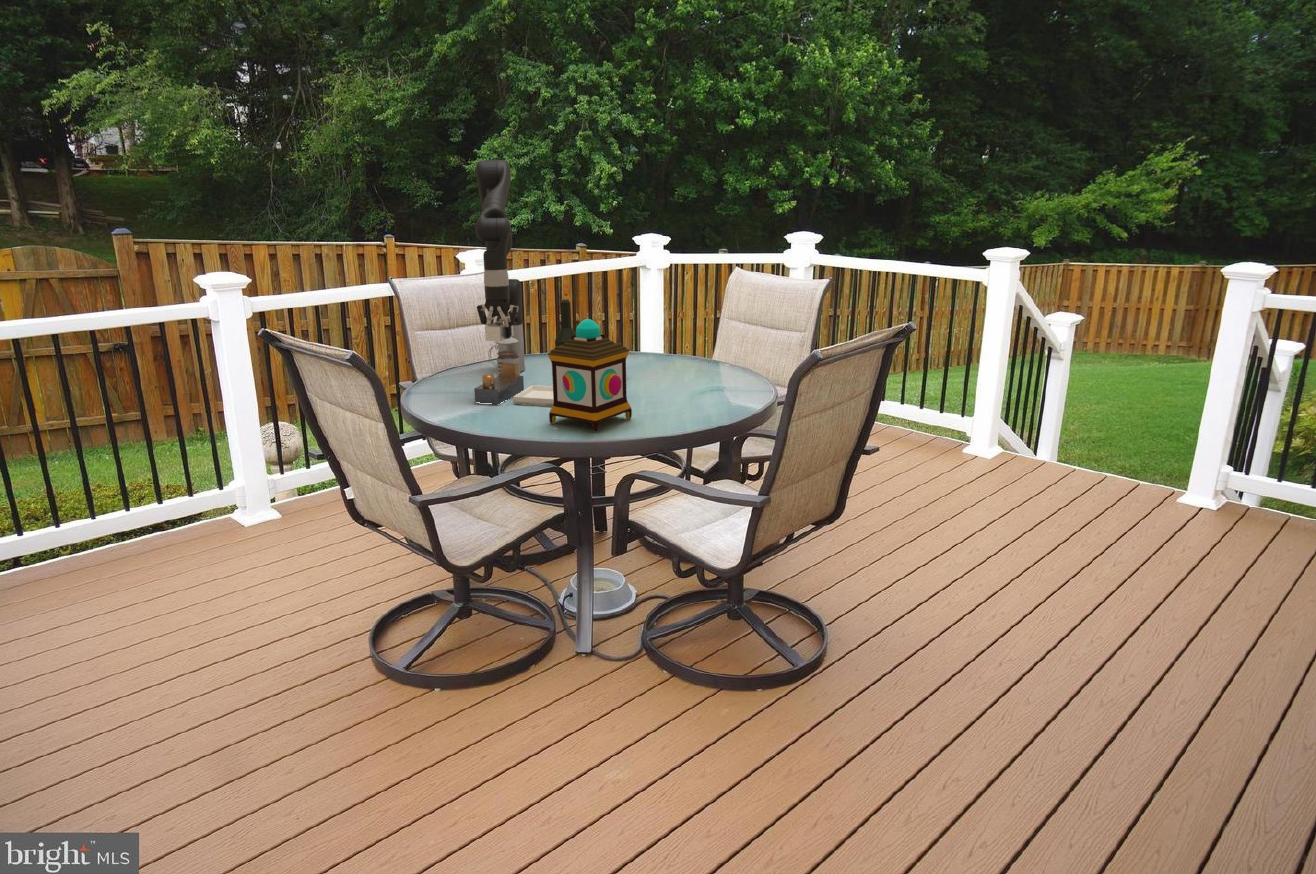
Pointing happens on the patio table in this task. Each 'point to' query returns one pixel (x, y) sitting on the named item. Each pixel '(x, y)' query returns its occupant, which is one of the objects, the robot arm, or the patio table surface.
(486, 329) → the lever cap
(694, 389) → the patio table surface
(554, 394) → the decorative lantern
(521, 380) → the plane body
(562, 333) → the wine bottle
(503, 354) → the french press
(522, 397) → the tray
